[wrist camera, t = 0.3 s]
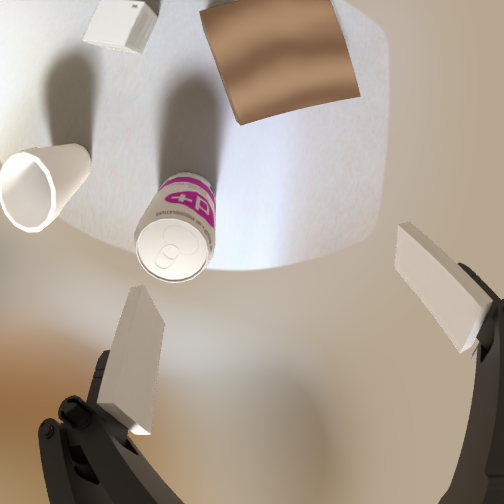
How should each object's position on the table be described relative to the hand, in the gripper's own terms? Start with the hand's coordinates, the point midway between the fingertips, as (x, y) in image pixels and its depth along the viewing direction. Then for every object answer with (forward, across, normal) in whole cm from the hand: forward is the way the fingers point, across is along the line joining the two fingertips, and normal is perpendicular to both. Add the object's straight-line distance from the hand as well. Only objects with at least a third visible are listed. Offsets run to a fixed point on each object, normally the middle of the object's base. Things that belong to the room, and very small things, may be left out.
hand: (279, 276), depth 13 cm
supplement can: (+27, -8, -4) cm, 29 cm away
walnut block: (+27, +7, +13) cm, 31 cm away
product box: (+27, -10, +22) cm, 37 cm away
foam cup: (+27, -24, +7) cm, 37 cm away
